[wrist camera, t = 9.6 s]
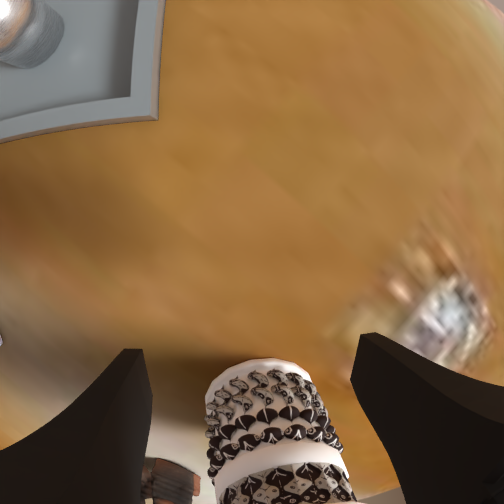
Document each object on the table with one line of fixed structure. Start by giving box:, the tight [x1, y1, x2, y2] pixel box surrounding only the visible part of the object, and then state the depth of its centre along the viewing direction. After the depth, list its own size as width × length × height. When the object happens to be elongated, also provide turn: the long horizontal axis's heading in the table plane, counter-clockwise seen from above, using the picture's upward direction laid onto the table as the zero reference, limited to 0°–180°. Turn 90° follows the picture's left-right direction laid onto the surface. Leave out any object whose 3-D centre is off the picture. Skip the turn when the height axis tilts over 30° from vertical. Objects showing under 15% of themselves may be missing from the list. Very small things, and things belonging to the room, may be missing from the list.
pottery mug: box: [140, 458, 201, 504], centre depth 22 cm, size 12×10×8 cm
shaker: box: [0, 0, 65, 69], centre depth 8 cm, size 4×4×8 cm
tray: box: [0, 0, 166, 144], centre depth 11 cm, size 16×13×2 cm
